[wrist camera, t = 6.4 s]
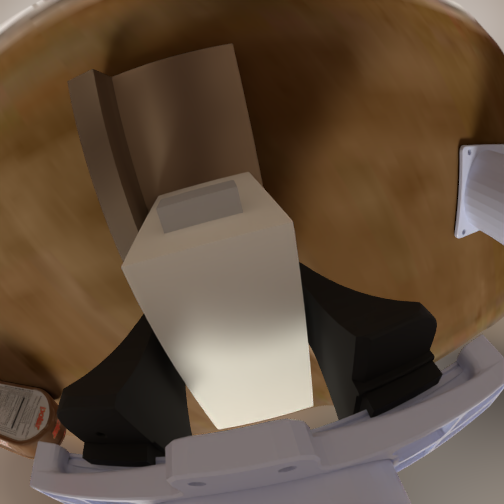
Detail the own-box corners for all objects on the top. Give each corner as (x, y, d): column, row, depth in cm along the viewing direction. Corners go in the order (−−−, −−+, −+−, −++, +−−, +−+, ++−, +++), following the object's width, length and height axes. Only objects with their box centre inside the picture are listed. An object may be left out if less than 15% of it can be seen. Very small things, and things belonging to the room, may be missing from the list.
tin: (-8, 388, 19) (-26, 436, 12) (-21, 372, 18) (-42, 421, 10) (75, 403, 21) (61, 469, 14) (61, 385, 20) (42, 455, 12)
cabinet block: (245, 155, 13) (288, 190, 6) (277, 314, 17) (313, 406, 11) (153, 180, 12) (109, 239, 6) (208, 332, 17) (218, 429, 11)
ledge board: (229, 50, 11) (239, 26, 8) (290, 358, 22) (304, 396, 18) (100, 89, 11) (67, 81, 7) (208, 378, 21) (212, 418, 18)
